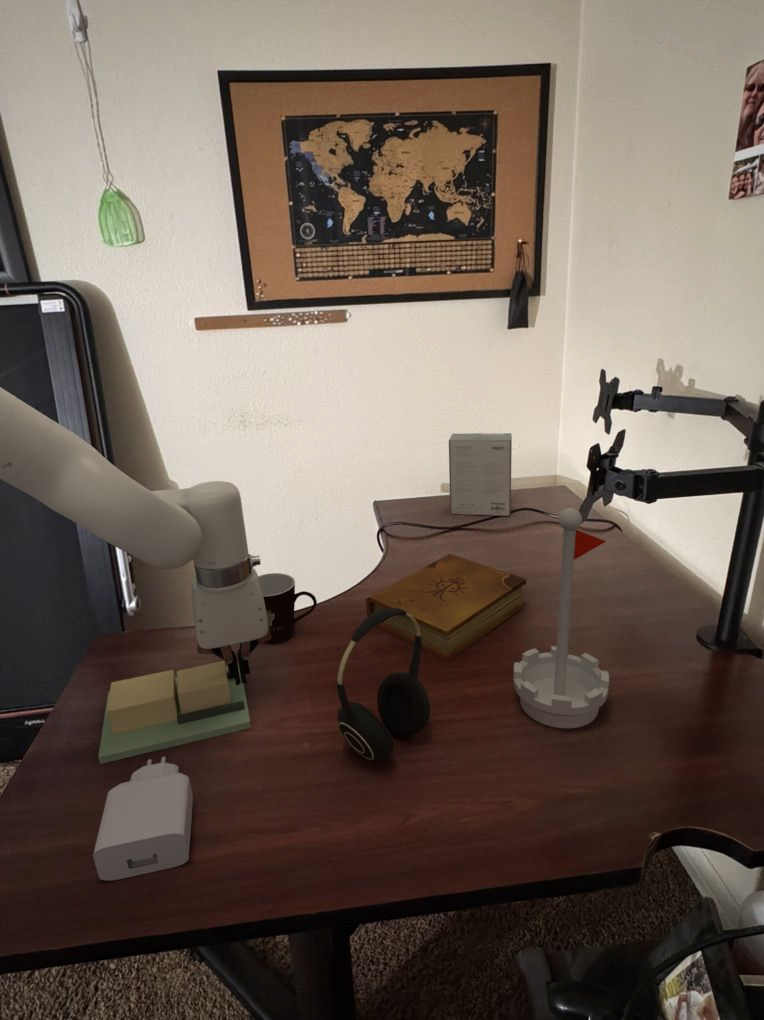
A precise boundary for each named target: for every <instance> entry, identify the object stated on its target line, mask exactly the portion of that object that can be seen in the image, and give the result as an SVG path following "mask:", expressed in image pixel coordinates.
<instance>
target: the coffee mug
mask: <svg viewBox="0 0 764 1020" xmlns="http://www.w3.org/2000/svg"><path fill="white" fill-rule="evenodd" d="M258 578H259V581H260V585H261V589H262V593H263V598H264V602H265V608H266V613H267V619H268V628H269V630H270V632H271V636H272V638H271V639H270V640H268V641H266V642H264V643H263V644H265V645H278V644H283V643H286V642H287V641H289V640H290V639H291V638H293V636H294V634H295V625H296V622H298V621H300V620H302V619H303V618H305V617H307V616H309V615H310V614H311V613H312V612H314V610H315V609H316V607H317V604H318V601H317V599H316V596H315V594H313V593H311V592H309V591H305V590H303V591H298V592H297V593H296V580H295V578H294V577H293V576H291V575H289V574H287V573H281V572H279V573H278V572H271V573H265V574H261V575H258ZM302 596H306V597H307V596H308V597H309V598H310V599H311V600H312V602H313V605H312V607H311V608H310V609H309V610H307V611H305V612H304V613H302V614H299V615H298V616H297V617H295V606H296V605H295V603H296V602H297V600H298V598H299V597H302Z"/></svg>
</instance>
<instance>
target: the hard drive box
mask: <svg viewBox="0 0 764 1020" xmlns="http://www.w3.org/2000/svg"><path fill="white" fill-rule="evenodd" d="M512 436H513V435H512V433H511V432H509V433H508V432H507V433H506V432H495V433H493V432H490V433H488V432H485V433H484V432H482V433H481V432H479V433H475V432H474V433H452V434H451V435H450V437H449V439H448V466H449V467H448V468H449V469H448V470H449V514H450V515H464V516H466V515H467V516H469V515H471V516H492V517H499V516H500V517H510V516H511V512H512V511H511V510H512V452H513V451H512V445H513V444H512V440H513V439H512V438H513V437H512Z"/></svg>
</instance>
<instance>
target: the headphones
mask: <svg viewBox="0 0 764 1020" xmlns="http://www.w3.org/2000/svg"><path fill="white" fill-rule="evenodd" d="M396 615H403V616H407V617H408V618H410V620H411V621H412V622H413V624H414V626H415V629H416V634H415V643H414V646H413V651H412V657H411V661H410V665H409V669H408V672H404V671H396V672H393V673H390V674H388V675H387V676H386V677H385V678H383V680H382V681H381V683H380V685H379V687H378V688H377V689H378V690H377V694H376V705H377V711H378V715H379V717H380V718H378V716H377V715H375V713H373V712H372V711H371V710H370V709H369V708H368V707H366V706H364V705H363V704H361V703H359V702H356V701H349V699H348V696H347V693H346V687H345V683H344V681H343V676H344V671H345V668H346V664H347V661H348V659H349V656H350V654H351V652H352V650H353V649H354V647H355V645H356V644H357V643H359V642H360V640H361V639H362V638H363V637H364V636H365V635H366V634H367V633H369V632H370V630H372V629H373V628H375V627H376V625H377V624H379V623H381V622H383V621H385V620H387V619H388V618H390V617H392V616H396ZM421 655H422V648H421V633H420V628H419V626H418V623H417V622H416V620H415V619H414V618H413V617H412V616H411V615H410V614H408V613H407V612H406V611H404V610H402V609H399V608H385V609H381V610H379V611H376V612H374V613H372V614H371V615H370V616H368V617H367V616H366V617H365V619H364V620H363V621H362V622H361V623H360V624H359V626H358V627H357V628H356V630H355V631H354V633H353V635H352V636H351V638H350V642H349V643H348V646H347V647H346V649H345V651H344V653H343V656H342V658H341V661H340V664H339V667H338V671H337V681H336V689H337V694H338V698H339V701H340V704H341V707H340V708H339V709H338V712H337V723H338V724H337V727H338V730H339V732H340V734H341V735H342V737H343V738H344V739H345V741H346V742H347V743H348V745H349V746H351V748H352V749H353V750H355V751H356V752H357V754H359V755H361V756H362V757H363V758H365V759H367V760H369V761H370V760H371V761H372V760H374V761H383V760H387V758H389V757H390V756H391V754H393V750H394V748H395V747H394V739H393V737H392V735H393V734H394V735H395V736H398V737H401V738H411V737H415V736H417V735H418V734H420V733H422V731H424V729H425V728H426V726H427V725H428V723H429V719H430V716H431V714H430V713H431V703H430V697H429V695H428V692H427V690H426V687H425V686H424V685H423V683H422V682H421V681H420V680H419V679H418V675H419V669H420V663H421ZM391 733H392V735H391Z"/></svg>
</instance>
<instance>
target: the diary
mask: <svg viewBox="0 0 764 1020" xmlns="http://www.w3.org/2000/svg"><path fill="white" fill-rule="evenodd" d="M526 584H527V578H524V577H521V576H518V575H515V574H512V573H509V572H506V571H503V570H501V569H497V568H494V567H491V566H488V565H485V564H482V563H479V562H476V561H472V560H470V559H466V558H464V557H461V556H458V555H455V554H451V553H448V554H446V555H444V556H442V557H441V558H439V559H437V560H435V561H433V562H431V563H429V564H427V565H425V566H424V567H422V568H420V569H418V570H416V571H414V572H412V573H411V574H409V575H407V576H405V577H403V578H401V579H399V580H398V581H395V582H394V583H392V584H390V585H388V586H386V587H384V588H382V589H380V590H379V591H377V592H376V593H373V594H372V595H370V596H368V597H367V598H366V599H365V606H366V607H365V608H366V609H365V610H366V618H367V617H368V616H370V615H371V614H372V613H374V612H376V611H379V610H381V609H385V608H399V609H402V610H404V611H406V612H407V613H408V614H410V615H411V616H412V617H413V618H414V619H415V620H416V622H417V623H418V626H419V628H420V633H421V650H424V651H426V652H428V653H430V654H432V655H434V656H436V657H439V658H441V659H443V660H444V661H447V662H449V661H450V660H452V659H453V658H454V657H456V656H457V655H458V654H460V653H461V652H463V651H464V650H466V649H467V648H469V647H470V646H471V645H472V644H475V642H477V641H478V640H480V639H481V638H482V637H484V636H485V635H486V634H488V633H490V632H491V631H492V630H494V629H495V628H496V627H498V626H499V625H501V624H502V623H503V622H505V621H506V620H508V619H509V618H510V617H511V616H513V615H515V614H516V613H518V612H519V611H520V610H521V609H523V608H524V607H526V602H527V601H526V600H522V587H523V586H525V585H526ZM375 627H376V628H377V629H379V630H382V631H383V632H386V633H388V634H390V635H393V636H395V637H396V638H399V639H401V640H403V641H405V642H407V643H410V644H411V645H414V643H415V634H416V629H415V626H414V624H413V622H412V621H411V620H410V618H408V617H407V616H403V615H396V616H392V617H390V618H388V619H387V620H385V621H383V622H381V623H379V624H377V625H376V626H375Z"/></svg>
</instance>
